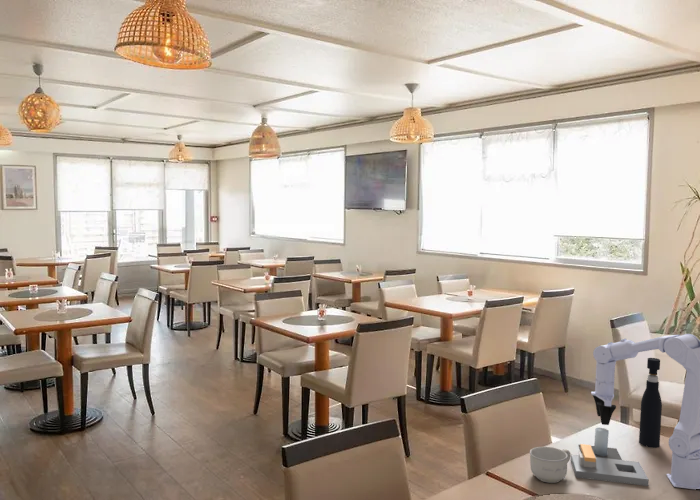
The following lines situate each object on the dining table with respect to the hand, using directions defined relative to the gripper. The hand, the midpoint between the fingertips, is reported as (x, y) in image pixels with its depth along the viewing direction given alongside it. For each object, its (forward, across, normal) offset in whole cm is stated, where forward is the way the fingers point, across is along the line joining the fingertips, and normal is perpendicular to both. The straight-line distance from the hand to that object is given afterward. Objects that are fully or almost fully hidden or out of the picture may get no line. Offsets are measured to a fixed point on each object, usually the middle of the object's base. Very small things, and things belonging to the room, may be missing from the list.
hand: (602, 420), depth 192 cm
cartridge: (+10, +4, -1) cm, 11 cm away
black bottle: (+11, -10, +17) cm, 22 cm away
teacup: (+11, +25, -18) cm, 33 cm away
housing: (+10, +17, -1) cm, 20 cm away
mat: (+10, +4, -1) cm, 11 cm away
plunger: (+8, +17, -7) cm, 20 cm away
